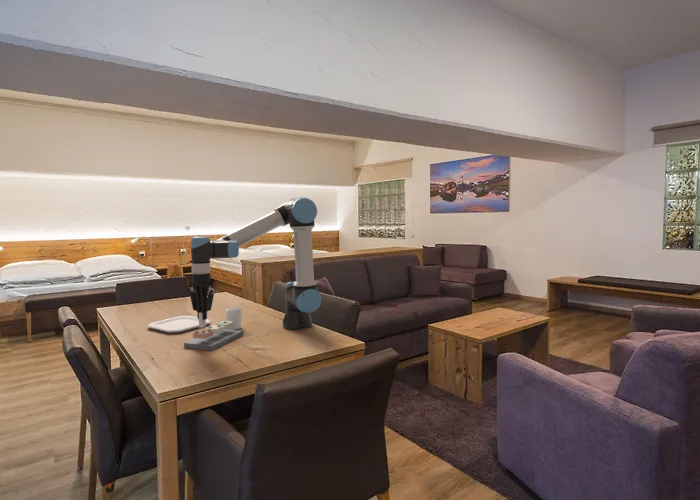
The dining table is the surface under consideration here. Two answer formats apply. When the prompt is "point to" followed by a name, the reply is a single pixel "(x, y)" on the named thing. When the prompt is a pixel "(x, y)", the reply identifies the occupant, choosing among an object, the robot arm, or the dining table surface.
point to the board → (214, 340)
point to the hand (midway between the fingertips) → (202, 326)
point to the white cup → (234, 316)
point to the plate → (177, 324)
